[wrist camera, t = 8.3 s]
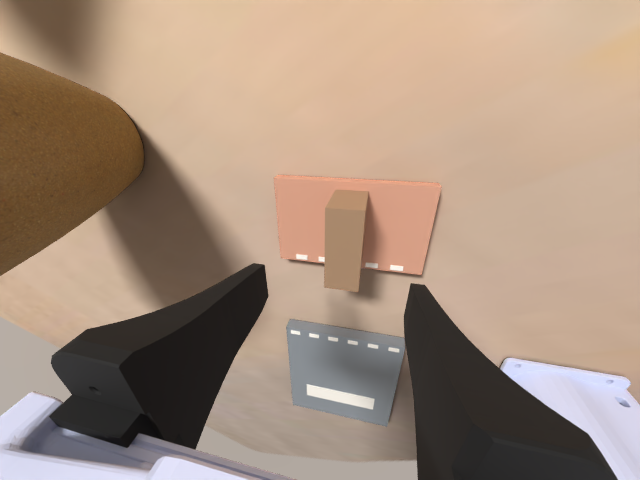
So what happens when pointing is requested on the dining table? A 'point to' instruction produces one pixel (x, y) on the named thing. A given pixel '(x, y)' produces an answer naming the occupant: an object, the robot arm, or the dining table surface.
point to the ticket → (344, 370)
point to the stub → (355, 225)
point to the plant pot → (56, 157)
